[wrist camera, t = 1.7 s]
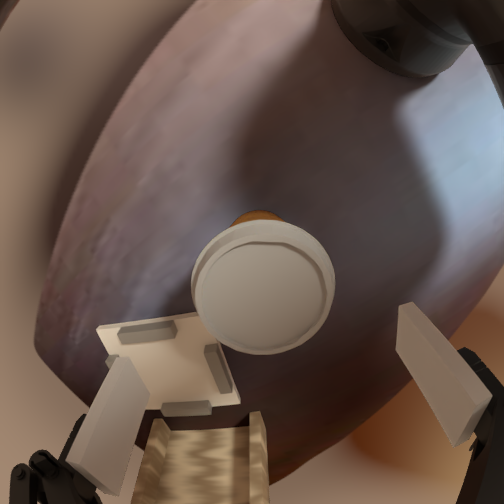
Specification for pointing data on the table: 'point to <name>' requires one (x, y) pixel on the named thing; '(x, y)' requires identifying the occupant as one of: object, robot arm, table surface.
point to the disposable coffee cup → (263, 285)
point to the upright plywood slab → (204, 466)
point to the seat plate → (174, 363)
